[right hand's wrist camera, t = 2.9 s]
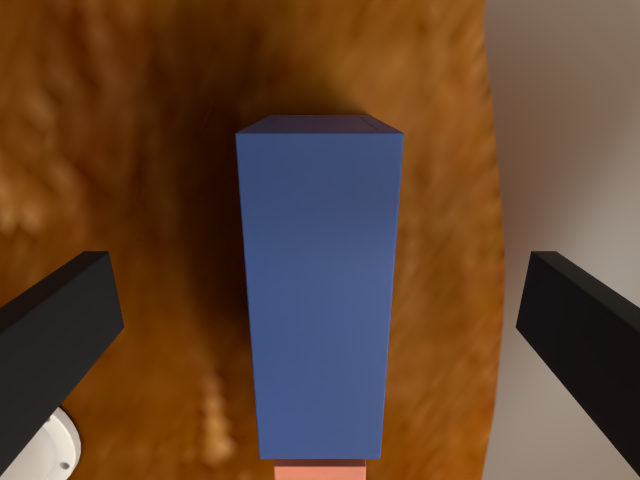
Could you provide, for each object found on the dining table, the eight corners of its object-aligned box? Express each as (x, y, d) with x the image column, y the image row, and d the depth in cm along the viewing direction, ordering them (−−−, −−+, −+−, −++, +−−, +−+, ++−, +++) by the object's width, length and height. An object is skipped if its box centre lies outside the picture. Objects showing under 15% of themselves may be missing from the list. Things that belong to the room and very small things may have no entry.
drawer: (351, 431, 34) (361, 548, 25) (289, 431, 34) (278, 548, 25) (360, 180, 26) (379, 225, 18) (279, 180, 26) (259, 225, 18)
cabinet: (360, 338, 32) (380, 459, 21) (279, 338, 32) (259, 459, 21) (370, 115, 26) (404, 132, 15) (269, 115, 26) (234, 132, 15)
